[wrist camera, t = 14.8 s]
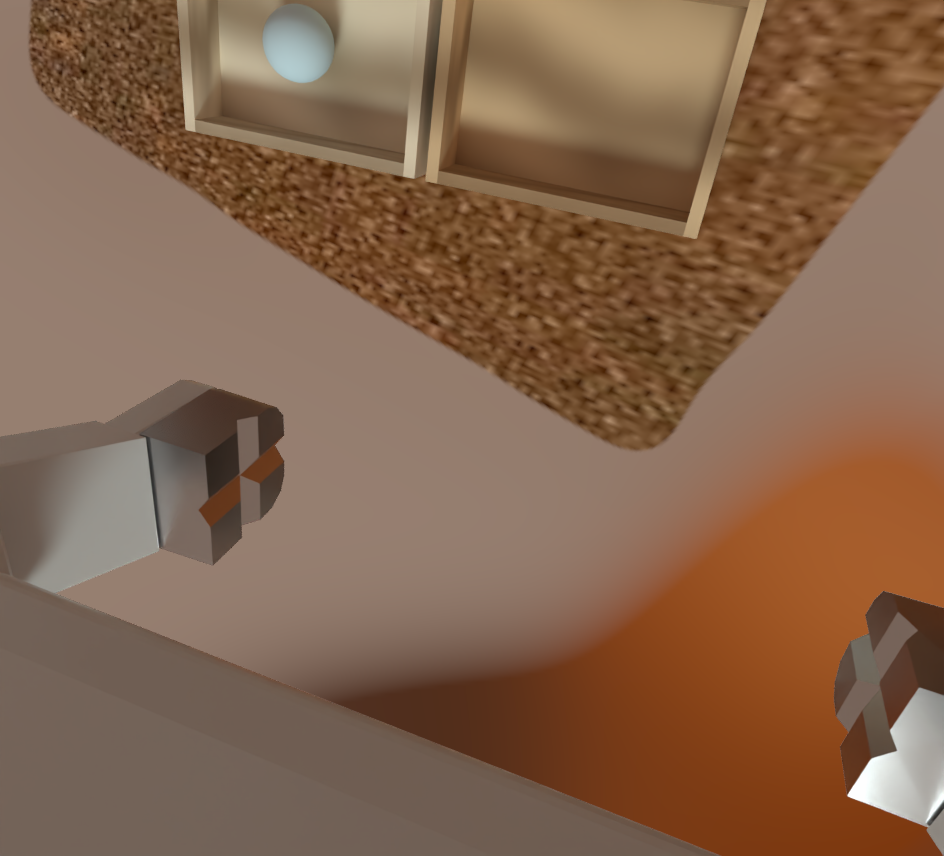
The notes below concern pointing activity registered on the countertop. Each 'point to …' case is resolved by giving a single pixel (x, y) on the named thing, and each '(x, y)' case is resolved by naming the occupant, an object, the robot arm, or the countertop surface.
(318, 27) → the ball
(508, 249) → the countertop surface
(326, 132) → the box far
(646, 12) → the box near
